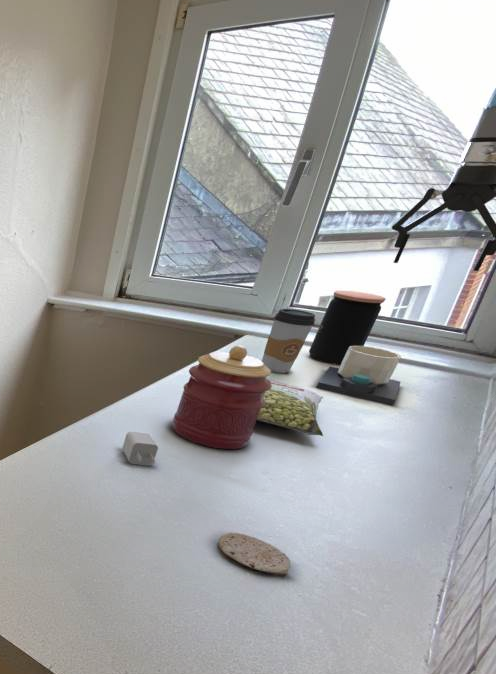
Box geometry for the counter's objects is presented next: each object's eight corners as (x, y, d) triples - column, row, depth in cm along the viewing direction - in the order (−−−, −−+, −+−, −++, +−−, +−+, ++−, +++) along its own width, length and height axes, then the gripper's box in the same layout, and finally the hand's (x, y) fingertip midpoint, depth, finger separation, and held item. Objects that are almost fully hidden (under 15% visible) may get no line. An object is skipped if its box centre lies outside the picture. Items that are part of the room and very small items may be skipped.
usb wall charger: (145, 454, 97) (151, 433, 95) (157, 473, 91) (164, 452, 89) (121, 451, 97) (127, 431, 95) (131, 470, 91) (138, 449, 89)
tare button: (368, 383, 128) (372, 376, 127) (367, 386, 126) (370, 379, 125) (351, 379, 130) (354, 372, 129) (349, 382, 128) (353, 375, 127)
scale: (398, 386, 134) (404, 375, 133) (392, 406, 122) (398, 393, 121) (327, 371, 143) (332, 360, 142) (315, 388, 131) (320, 376, 130)
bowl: (388, 380, 134) (402, 352, 131) (385, 389, 128) (399, 360, 125) (339, 369, 140) (351, 343, 137) (334, 377, 134) (346, 350, 131)
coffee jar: (326, 352, 159) (353, 290, 151) (364, 364, 149) (396, 299, 141) (297, 354, 156) (324, 290, 148) (335, 366, 147) (366, 299, 139)
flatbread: (206, 547, 73) (208, 541, 72) (235, 531, 76) (237, 525, 76) (273, 584, 67) (276, 578, 66) (301, 564, 70) (304, 558, 70)
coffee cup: (265, 373, 140) (288, 315, 133) (249, 362, 147) (270, 307, 140) (300, 376, 139) (325, 317, 132) (282, 365, 146) (305, 309, 139)
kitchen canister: (155, 424, 108) (182, 337, 100) (204, 417, 112) (233, 333, 105) (212, 454, 97) (248, 360, 90) (264, 446, 101) (302, 355, 94)
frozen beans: (203, 388, 110) (220, 359, 128) (193, 414, 112) (211, 382, 130) (331, 422, 99) (330, 385, 117) (316, 450, 102) (317, 409, 120)
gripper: (404, 163, 123) (363, 260, 133) (573, 165, 108) (513, 275, 117) (405, 164, 128) (366, 258, 138) (567, 166, 113) (510, 271, 122)
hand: (434, 266), depth 128 cm, fingers open, 13 cm apart
